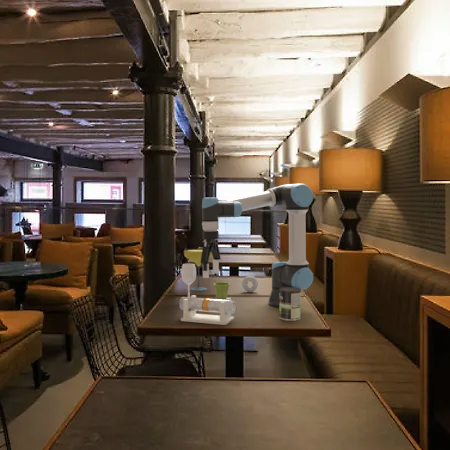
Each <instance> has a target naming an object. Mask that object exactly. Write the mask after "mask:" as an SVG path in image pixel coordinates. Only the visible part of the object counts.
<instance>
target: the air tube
mask: <svg viewBox="0 0 450 450" xmlns="http://www.w3.org/2000/svg"><path fill="white" fill-rule="evenodd" d="M184 299H189V310H193V311H196V312H203V313H205V312H206V313H219V314H220V302H225V313H230V314H231V315H233V314H235V312H236V309H237V307H236V301H235V300H233V299H231V300H226V299H223V300H222V299H216V298H215V299H214V298H202V297H196V298H191V296H190V297H188V296H182V297H180V299H179V303H178V305H179V309H180V310H182V311H183V300H184Z"/></svg>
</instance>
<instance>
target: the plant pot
mask: <svg viewBox="0 0 450 450" xmlns="http://www.w3.org/2000/svg"><path fill="white" fill-rule="evenodd" d="M213 285H214V289H215V299H219V300H226V298H228V293H229V287H230V283H229V282H224V281H223V282H221V281H220V282H219V281H218V282H214V283H213Z"/></svg>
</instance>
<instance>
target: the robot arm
mask: <svg viewBox="0 0 450 450" xmlns="http://www.w3.org/2000/svg"><path fill="white" fill-rule="evenodd" d="M313 200H314V193H313V191H312V189H311V188H310V186H309V185H307V184H305V183H286V184H282V185H279V186H274V187H272V188H271V187H270V188H268V189H266V191H262V192H258V193H253V194H247V195H241V196H237V197H233V198H231V197H230V198H228V199H227V198H226V199H223V200H219V199H218V197H203V198H202V202H201V210H202V211H201V212H202V215H201V216H202V219H201V220H202V223H201V226H202V230H203V231H202V240H205V241H203V242H202V249H203V250H202V256H201V265H202V278H203V279H209V278H210V263H209V261H210V259H209V257H210V253H212V257H213V260H212V274H219V272H220V270H219V268H220V267H219V266H220V265H219V264H220V263H219V261H220V260H221V253H220V247H219V239H220V238H219V237H220V236H219V235H220V234H219V231H218V230H219V219H221V218H238V217H240V216H241V215H242V213H243V212H246V211H250V210H255V209H259V208H264V207H271V208H272V207H282V206H283V207H285V211H286V212H287V213H288V260H287V261H277V262H273V263H272V265H271V292H270V295H269V296H268V305H269V306H274V307H279V289H280V288H283V287H295V288H299V289H301V291H304V290H307V289H309V287H310V286H311V285H312V283H313V281H314V273H313V271H312V269H310V267H309V266H310V263H309V262H308V260H307V254H306V253H307V251H306V250H307V249H306V248H307V242H306V241H307V239H306V238H307V237H306V236H307V235H306V234H307V231H306V227H307V225H306V220H307V219H306V213H307V212H308V211H309V206H310V205H311V203H312V202H313Z"/></svg>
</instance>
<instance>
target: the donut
mask: <svg viewBox="0 0 450 450" xmlns="http://www.w3.org/2000/svg"><path fill="white" fill-rule="evenodd" d="M249 282H250V283H252V285H251V286H249V285H248V283H249ZM241 287H242V289H243V290H244V291H245V292H247V293H253V292H255V291H256V290H257V289H258V287H259V281H258V279H257V277H255V276H253V275H249V276H248V275H247V276H245V277H243V280H242V282H241Z"/></svg>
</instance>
